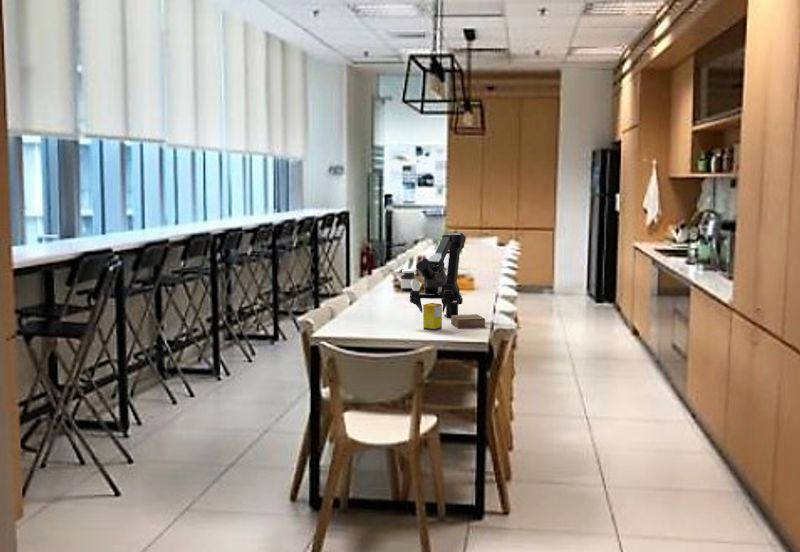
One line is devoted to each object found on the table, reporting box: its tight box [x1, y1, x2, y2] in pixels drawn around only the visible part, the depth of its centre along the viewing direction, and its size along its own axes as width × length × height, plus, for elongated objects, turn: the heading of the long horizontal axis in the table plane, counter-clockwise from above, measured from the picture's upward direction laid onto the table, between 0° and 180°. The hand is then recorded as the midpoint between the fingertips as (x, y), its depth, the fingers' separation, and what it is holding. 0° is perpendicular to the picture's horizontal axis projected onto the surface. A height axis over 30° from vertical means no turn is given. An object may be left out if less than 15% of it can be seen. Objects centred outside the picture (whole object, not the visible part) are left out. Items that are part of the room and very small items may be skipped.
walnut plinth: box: [450, 313, 486, 330], centre depth 406 cm, size 12×12×4 cm
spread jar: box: [400, 268, 421, 292], centre depth 523 cm, size 12×11×12 cm
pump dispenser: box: [435, 269, 447, 294], centre depth 514 cm, size 10×10×15 cm
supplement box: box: [422, 302, 443, 331], centre depth 398 cm, size 6×6×11 cm
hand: (432, 312), depth 397 cm, fingers open, 9 cm apart
